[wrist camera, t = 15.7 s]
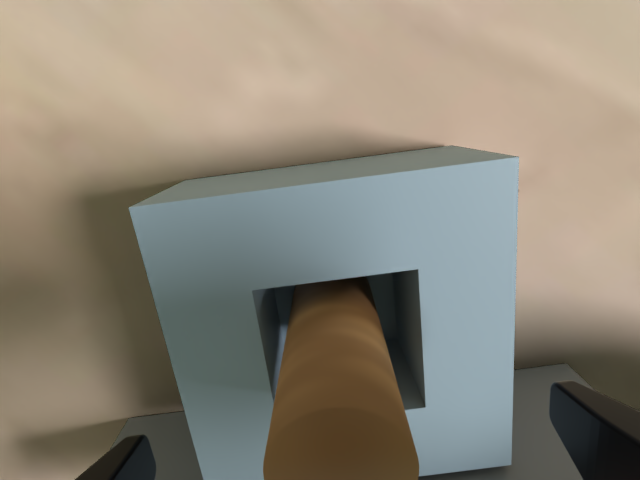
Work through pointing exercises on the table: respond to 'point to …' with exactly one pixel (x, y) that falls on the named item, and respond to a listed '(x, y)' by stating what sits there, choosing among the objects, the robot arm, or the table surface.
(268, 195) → the block
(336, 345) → the dowel
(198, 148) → the table surface
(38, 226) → the table surface
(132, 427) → the wall
